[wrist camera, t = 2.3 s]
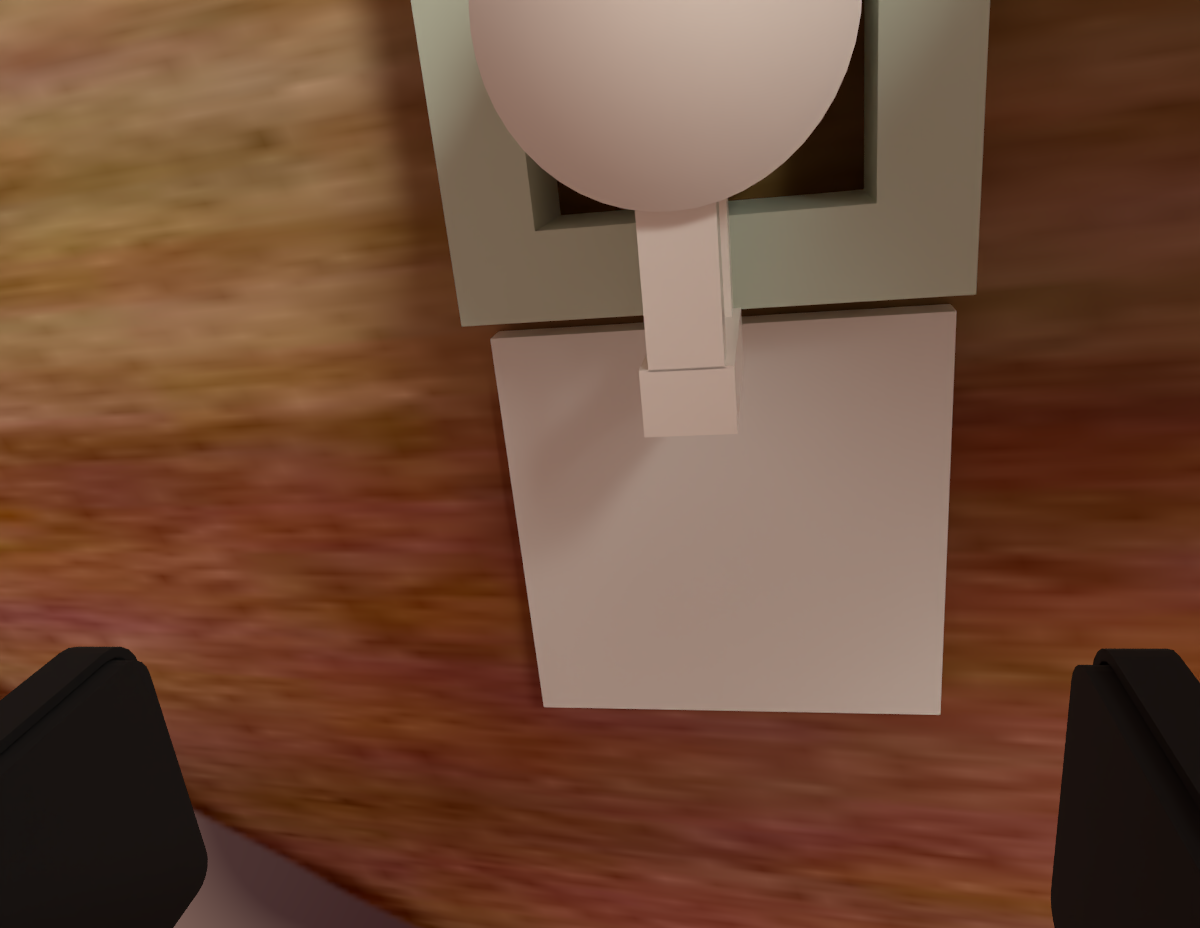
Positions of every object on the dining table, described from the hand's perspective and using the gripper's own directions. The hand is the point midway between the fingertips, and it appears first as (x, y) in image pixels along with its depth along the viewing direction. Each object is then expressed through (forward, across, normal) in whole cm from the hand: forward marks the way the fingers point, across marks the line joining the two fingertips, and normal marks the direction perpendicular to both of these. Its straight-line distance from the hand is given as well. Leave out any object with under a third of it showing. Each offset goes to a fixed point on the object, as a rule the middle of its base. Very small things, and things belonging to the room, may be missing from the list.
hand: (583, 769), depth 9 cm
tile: (+21, 0, +7) cm, 23 cm away
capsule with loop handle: (+21, 0, -6) cm, 22 cm away
